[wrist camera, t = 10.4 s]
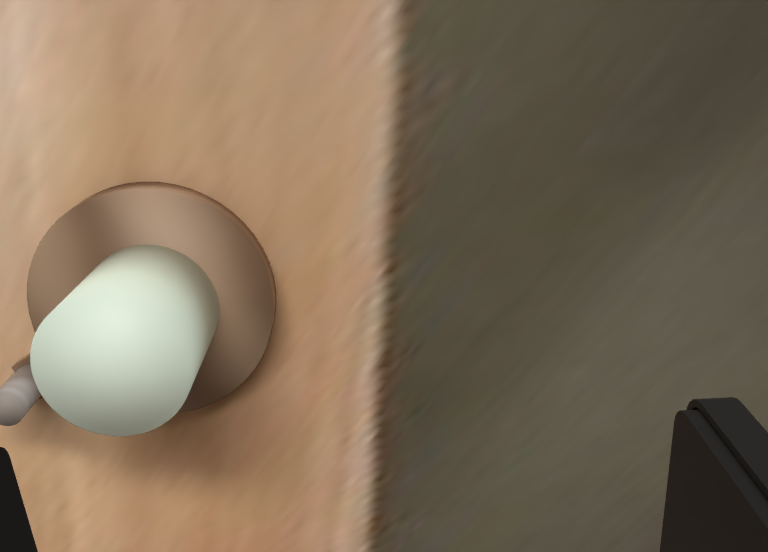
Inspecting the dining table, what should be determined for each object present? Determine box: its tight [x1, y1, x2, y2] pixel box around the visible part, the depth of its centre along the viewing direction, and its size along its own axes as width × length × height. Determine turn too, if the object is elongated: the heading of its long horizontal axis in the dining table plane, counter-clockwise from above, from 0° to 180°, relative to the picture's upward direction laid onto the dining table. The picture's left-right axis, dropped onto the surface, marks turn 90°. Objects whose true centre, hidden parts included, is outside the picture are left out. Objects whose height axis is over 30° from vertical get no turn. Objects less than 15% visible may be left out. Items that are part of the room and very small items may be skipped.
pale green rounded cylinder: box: [30, 245, 219, 436], centre depth 31 cm, size 8×6×6 cm
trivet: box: [0, 182, 276, 426], centre depth 33 cm, size 14×11×4 cm
